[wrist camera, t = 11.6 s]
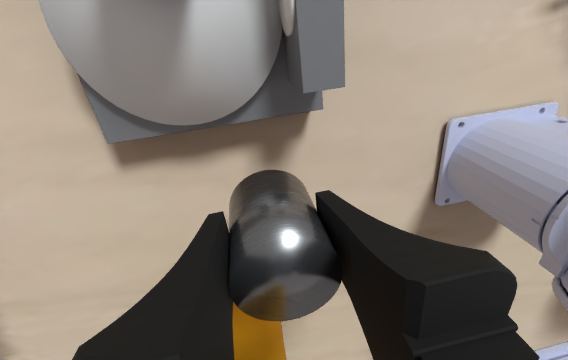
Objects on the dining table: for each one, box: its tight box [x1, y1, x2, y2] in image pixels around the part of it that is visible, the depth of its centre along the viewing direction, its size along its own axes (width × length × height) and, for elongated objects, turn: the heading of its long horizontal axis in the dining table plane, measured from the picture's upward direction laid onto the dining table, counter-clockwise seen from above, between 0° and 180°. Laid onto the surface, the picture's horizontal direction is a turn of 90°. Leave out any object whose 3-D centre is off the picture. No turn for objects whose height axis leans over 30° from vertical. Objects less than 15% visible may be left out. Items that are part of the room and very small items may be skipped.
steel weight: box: [229, 170, 343, 321], centre depth 12 cm, size 4×4×5 cm
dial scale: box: [39, 0, 345, 144], centre depth 14 cm, size 13×12×6 cm
